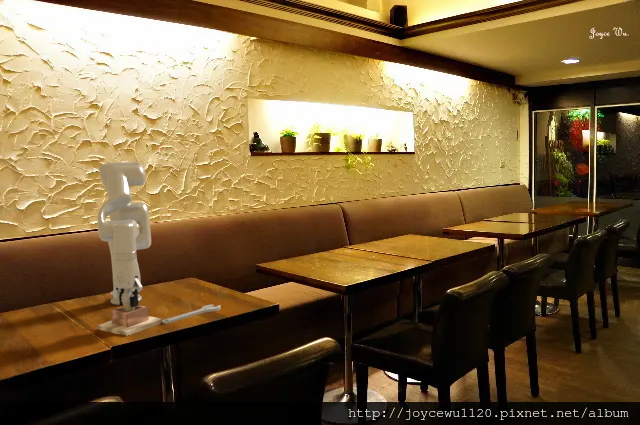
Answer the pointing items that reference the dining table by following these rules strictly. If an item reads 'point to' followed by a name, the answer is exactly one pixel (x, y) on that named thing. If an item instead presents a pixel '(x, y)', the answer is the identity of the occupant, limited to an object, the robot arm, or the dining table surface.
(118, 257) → the robot arm
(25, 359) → the dining table surface
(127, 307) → the ice cream cone
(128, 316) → the cone stand
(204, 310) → the adjustable wrench
